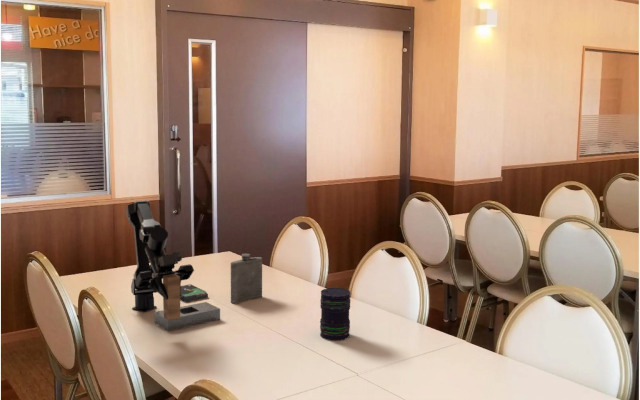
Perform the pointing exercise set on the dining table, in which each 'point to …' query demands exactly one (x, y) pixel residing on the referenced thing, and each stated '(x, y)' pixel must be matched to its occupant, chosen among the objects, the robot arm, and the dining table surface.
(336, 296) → the storage jar
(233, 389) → the dining table surface
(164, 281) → the walnut peg
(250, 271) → the flask
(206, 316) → the rail block
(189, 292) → the disk drive
